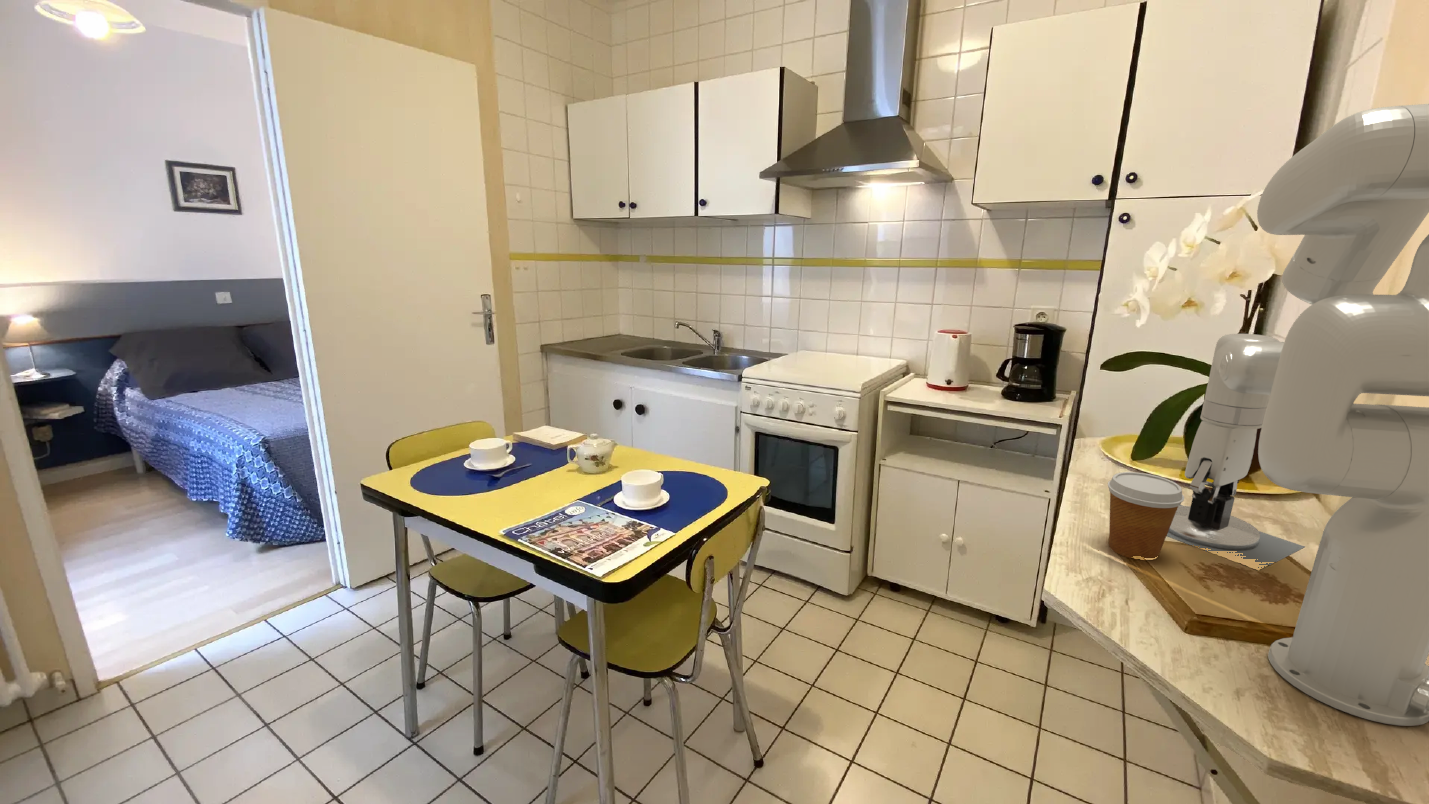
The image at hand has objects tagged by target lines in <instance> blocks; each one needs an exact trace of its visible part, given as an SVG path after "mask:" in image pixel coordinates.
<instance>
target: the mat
mask: <svg viewBox="0 0 1429 804" xmlns="http://www.w3.org/2000/svg"><path fill="white" fill-rule="evenodd" d="M1179 506H1184V504H1183V505H1182V504H1180V505H1179ZM1258 531H1259V532H1260V538H1259V542H1258V545H1257V547H1255V548H1253V549H1250V550H1243V551H1237V552H1235V553H1243V555H1242V554H1240V556H1246V557H1243V559H1256V560H1255V562H1261V563H1262V562H1276V563H1277V562H1279V561H1282V560H1283V559H1285V558H1286V557H1289V556H1291V555H1293V554H1295V553H1297V552H1298V551H1300V550H1302V549H1304V548H1306V546H1305V545H1302V544H1300V543H1296V542H1293V541H1290V540H1287V539H1284V538H1282V537H1281V538H1280V537H1278V536H1275V535H1272V534H1269V533H1265V532H1263V531H1260V530H1258ZM1166 538H1170V539H1173V540H1176V541H1178V542H1180V543H1183V544H1185V545H1188V546H1191V545H1192V547H1194V546H1198V547H1199V546H1200V547H1199V548H1205V549H1206V548H1208V549H1211V550H1208V551H1234V550H1223V549H1216V548H1211V547H1207V546H1202V545H1199V544H1195V543H1192V542H1189V541H1186V540H1184V539H1181V538H1179V537H1176V536H1174V535H1172V534H1171V533H1169V532H1168V533H1167V536H1166ZM1193 545H1194V546H1193ZM1199 548H1198V549H1199ZM1204 552H1207V550H1205V551H1204ZM1217 553H1218V552H1217ZM1227 553H1228V552H1227ZM1229 553H1231V552H1229ZM1232 553H1233V552H1232ZM1235 556H1236V555H1235ZM1237 556H1239V554H1238V555H1237ZM1241 558H1242V557H1241ZM1257 559H1258V560H1257ZM1271 564H1272V565H1274V564H1273V563H1269V564H1268V563H1266V564H1259V565H1270V566H1272V565H1271ZM1264 567H1265V566H1264ZM1258 568H1259V567H1258ZM1261 568H1262V567H1261Z"/></svg>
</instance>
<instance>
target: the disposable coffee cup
mask: <svg viewBox="0 0 1429 804" xmlns="http://www.w3.org/2000/svg"><path fill="white" fill-rule="evenodd" d="M1107 487H1108V491H1109V531H1108V532H1109V533H1108V535H1109V536H1108V537H1109V538H1108V546H1109V549H1110V550H1112V551H1113V552H1114V553H1116V554H1118V555H1120V556H1123V557H1124V558H1129V559H1131V557H1133V556H1141V557H1144V558H1155V557H1157V556H1158V557H1159V556H1160V554H1161V551H1162V548H1163V545H1164V544H1165V541H1166V539H1167V533H1168V531H1169V528H1170V526H1171V523H1172V521H1173V518H1174V516H1175V513H1176V511H1177V508H1178V506H1179V505H1182V503H1183V502H1184V501H1185V495H1183V488H1182V486H1180V485H1179V484H1178V483H1176V482H1175V481H1173V480H1171V479H1170V480H1169V479H1167V478H1165V477H1162V476H1158V475H1154V474H1149V473H1144V472H1135V471H1134V472H1132V471H1124V472H1123V471H1122V472H1117V473H1115V474H1114V475H1112V478H1111V479H1110V480H1109V481H1108V482H1107Z"/></svg>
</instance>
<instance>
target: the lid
mask: <svg viewBox="0 0 1429 804" xmlns="http://www.w3.org/2000/svg"><path fill="white" fill-rule="evenodd" d="M1210 490H1211V489H1209V491H1210ZM1210 493H1211V491H1210ZM1232 497H1233V496H1232ZM1232 497H1229V496H1226V495H1223V494H1219V493H1218V495H1217V498H1216V501H1215V503H1218V505H1217V509H1216V513H1215V518H1214V522H1213V525H1211V526H1207V525H1204V524H1201V523H1198V522H1195V521H1193V520H1190V519H1189V513H1190V508H1191V505H1183V506H1178V508H1177V511H1176V513H1175V516H1174V518H1173V521H1172V523H1171V526H1170V528H1169V531H1168V532H1169V533H1171V534H1172V535H1174V536H1176V537H1179V538H1181V539H1184V540H1186V541H1189V542H1192V543H1195V544H1199V545H1202V546H1207V547H1211V548H1216V549H1223V550H1234V551H1243V550H1250V549H1253V548H1255V547H1257V545H1258V542H1259V538H1260V532H1261V531H1260V530H1259V529H1258V528H1256V527H1255V526H1254V525H1253V524H1251V523H1249V522H1247V521H1245V520H1244V519H1241V518H1239V517H1237V516H1233V515H1232V511H1233V507H1234V502H1235V497H1234V498H1232ZM1191 499H1193V498H1192V497H1191ZM1259 531H1260V532H1259Z"/></svg>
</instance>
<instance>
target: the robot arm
mask: <svg viewBox="0 0 1429 804" xmlns="http://www.w3.org/2000/svg"><path fill="white" fill-rule="evenodd" d="M1256 211H1257V212H1256V215H1257V222H1258V224H1259V227H1260V228H1261V229H1262V230H1263V231H1264V232H1266V233H1268V234H1270V235H1276V236H1302V240H1301V241H1300V243H1299V245H1298V246H1297V248H1296V250H1295V252H1294V253H1293V255H1292V257H1291V258H1290V260H1289V262H1288V264H1287V265H1286V267H1285V268H1284V270H1283V273H1282V275H1281V282H1282V285H1283V287H1284V288H1285V290H1286V291H1287V292H1288V293H1289V294H1291V295H1292V296H1294V297H1296V298H1297V299H1299V300H1301V301H1303V302H1305V303H1307V304H1309V306H1308V307H1307V308H1306V309H1304V310H1303V311H1302V312H1301V313H1300V314H1299V315H1298V317H1297V318H1296V319H1295V321H1294V322H1293V323H1292V325H1291V327H1290V328H1289V330H1288V332H1287V334H1286V337H1285V339H1284V341H1280V340H1278V339H1277V338H1275V337H1273V336H1270V335H1269V336H1268V335H1263V334H1254V333H1253V334H1252V333H1229V334H1225V335H1222V336H1220V337H1219V338H1218V340H1217V342H1216V344H1215V347H1214V348H1215V349H1214V352H1213V358H1212V362H1211V367H1210V371H1209V376H1208V382H1207V386H1206V389H1205V396H1204V399H1203V404H1202V410H1201V414H1200V418H1199V419H1200V420H1201V422H1200V424H1199V426H1198V428H1197V430H1196V432H1195V433H1196V434H1195V436H1194V439H1193V442H1192V445H1191V450H1190V452H1189V456H1188V460H1187V462H1186V463H1187V464H1186V466H1185V470H1184V476H1185V478H1186V479H1190V480H1191V479H1192V480H1191V482H1190V483H1189V488H1190V489H1191V490H1192V495H1191V499H1192V498H1193V499H1192V500H1191V504H1190V506H1191V508H1190V513H1189V519H1190V520H1193V521H1195V522H1198V523H1201V524H1204V525H1207V526H1211V525H1213V522H1214V518H1215V513H1216V509H1217V505H1218V503H1215V501H1216V498H1217V495H1218V493H1219V494H1223V495H1226V496H1229V497H1232V498H1235V495H1236V494H1237V490H1238V489H1237V488H1238V484H1239V483H1240V480H1241V479H1244V478H1245V477H1246V476H1247V475H1248V474H1249V473H1248V472H1249V470H1250V467H1251V464H1252V460H1253V455H1254V451H1255V446H1256V440H1257V432H1258V429H1260V433H1259V439H1258V447H1257V449H1258V450H1257V454H1258V462H1259V466H1260V469H1261V471H1262V473H1263V474H1264V476H1265V477H1266V478H1267V479H1268V480H1269V481H1270V482H1272V483H1273V484H1275V485H1276V486H1278V487H1281V488H1284V489H1286V490H1290V491H1295V492H1301V493H1307V494H1308V493H1309V494H1317V495H1327V496H1334V497H1335V496H1336V497H1346V498H1350V499H1348V500H1347V501H1346V502H1344V504H1342V505H1341V506H1340V507H1339V508H1338V509H1337V510H1336V511H1335V512H1333V514H1332V515H1331V516H1330V518H1329V519H1328V521H1327V522H1326V524H1325V527H1324V528H1323V531H1322V534H1321V539H1320V541H1319V545H1318V548H1317V551H1316V555H1315V557H1314V561H1313V566H1312V569H1311V573H1310V575H1309V579H1308V582H1307V586H1306V589H1305V592H1304V596H1303V601H1302V604H1301V607H1300V610H1299V614H1298V617H1297V620H1296V624H1295V627H1294V628H1295V629H1294V631H1293V635H1292V636H1291V637H1283V638H1280V639H1277V640H1274V642H1272V643H1271V644H1270V647H1269V649H1268V650H1269V651H1268V653H1267V654H1268V660H1269V663H1270V664H1271V666H1272V667H1273V669H1274V670H1275V672H1277V673H1278V674H1279V675H1280V676H1281V677H1282V678H1283V679H1284V680H1285V681H1287V682H1288V683H1290V684H1291V685H1292V686H1293V687H1295V688H1296V689H1298V690H1300V691H1301V692H1303V693H1304V694H1306V695H1308V696H1310V697H1311V698H1313V699H1315V700H1317V701H1319V702H1321V703H1323V704H1326V705H1328V706H1330V707H1332V708H1334V709H1335V710H1336V709H1337V710H1338V711H1341V712H1343V713H1344V712H1345V713H1347V714H1349V715H1352V716H1355V717H1359V718H1362V719H1365V720H1368V721H1372V722H1376V723H1381V724H1384V725H1385V724H1386V725H1393V726H1403V727H1404V726H1407V727H1413V726H1419V725H1420V726H1421V725H1424V724H1426V723H1428V722H1429V665H1428V664H1426V662H1427V659H1428V656H1429V407H1427V406H1426V407H1425V406H1410V405H1409V406H1408V405H1396V404H1395V405H1392V404H1370V403H1369V404H1368V403H1367V404H1365V403H1354V402H1355V401H1356V399H1357V398H1358V397H1359V396H1360V395H1361V394H1374V395H1391V396H1392V395H1394V396H1415V397H1429V234H1427V235H1426V237H1425V238H1424V239H1423V240H1422V241H1421V242H1420V244H1419V246H1418V247H1417V249H1416V251H1415V254H1414V257H1413V260H1412V264H1411V267H1410V272H1409V274H1408V277H1407V279H1406V282H1405V284H1404V286H1403V288H1402V289H1401V291H1400V292H1398V293H1397V294H1374V290H1375V289H1376V288H1377V285H1379V283H1380V282H1381V281H1382V279H1383V278H1384V276H1385V275H1386V273H1387V272H1388V271H1389V269H1390V268H1391V266H1392V265H1393V264H1394V262H1395V261H1396V260H1397V258H1398V256H1400V254H1401V252H1402V251H1403V249H1405V247H1406V245H1407V244H1408V242H1409V241H1410V240H1411V239H1412V237H1413V235H1414V234H1415V233H1416V231H1417V230H1418V228H1419V227H1420V226H1421V224H1422V223H1423V221H1424V220H1425V218H1426V217H1427V215H1428V214H1429V103H1423V104H1422V103H1421V104H1420V103H1419V104H1406V105H1393V106H1383V107H1376V108H1369V109H1366V110H1362V111H1359V112H1356V113H1353V114H1351V115H1349V116H1347V117H1345V118H1343V119H1341V120H1340V121H1338V122H1336V123H1335V124H1333V126H1331V127H1330V128H1328V129H1327V130H1325V131H1324V132H1322V134H1320V135H1319V136H1317V138H1315V139H1314V140H1313V141H1311V142H1310V143H1308V144H1306V145H1305V146H1304V147H1303V148H1301V149H1300V150H1299V151H1297V152H1296V153H1295V154H1294V155H1293V156H1292V157H1291V156H1290V158H1289V159H1288V160H1287V161H1286V162H1285V163H1284V164H1282V165H1281V167H1280V168H1279V169H1278V170H1277V171H1276V172H1275V174H1273V175H1272V177H1271V178H1270V180H1269V181H1268V182H1267V185H1266V186H1265V188H1264V189H1263V191H1262V193H1261V196H1260V198H1259V202H1258V205H1257V210H1256ZM1303 235H1304V236H1303ZM1208 479H1210V480H1213V481H1212V482H1211V481H1207V480H1208ZM1206 486H1207V487H1210V488H1211V489H1209V488H1206ZM1209 490H1210V491H1211V493H1210V491H1209Z"/></svg>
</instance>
